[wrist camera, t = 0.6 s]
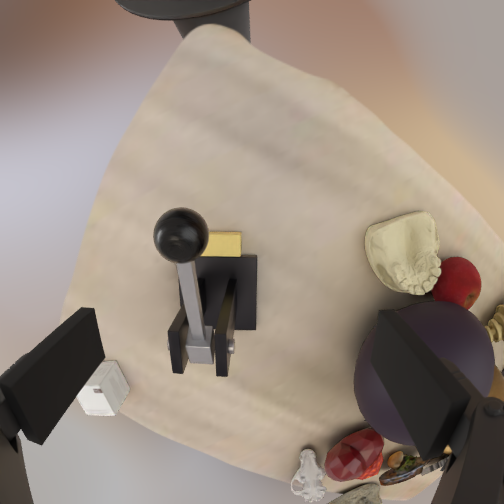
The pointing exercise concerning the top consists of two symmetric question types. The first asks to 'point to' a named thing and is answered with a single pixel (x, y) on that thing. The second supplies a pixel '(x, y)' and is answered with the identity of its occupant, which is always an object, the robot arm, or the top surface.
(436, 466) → the toy
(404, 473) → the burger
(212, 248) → the butter
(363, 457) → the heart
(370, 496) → the fossil
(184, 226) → the slicer arm
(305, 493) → the skull
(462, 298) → the apple
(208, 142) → the top surface
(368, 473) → the red bumpy berry
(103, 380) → the white cardboard box
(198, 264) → the black lever stand
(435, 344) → the dark purple dome
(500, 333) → the toy gun
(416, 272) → the lumpy plaster cast
